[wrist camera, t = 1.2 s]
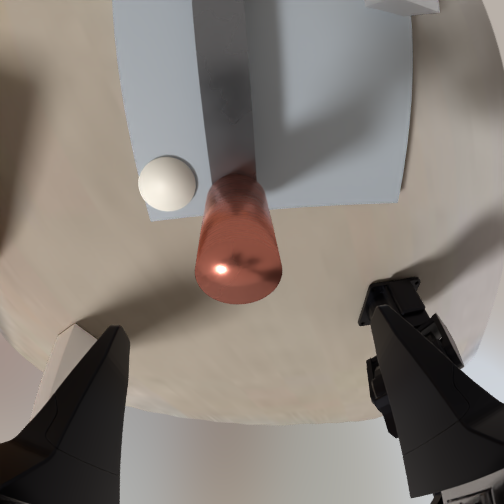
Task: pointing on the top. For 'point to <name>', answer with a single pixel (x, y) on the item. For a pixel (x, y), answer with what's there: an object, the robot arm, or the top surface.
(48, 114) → the top surface
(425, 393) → the robot arm
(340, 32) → the blue-grey rectangular board
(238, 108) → the lever
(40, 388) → the milk
